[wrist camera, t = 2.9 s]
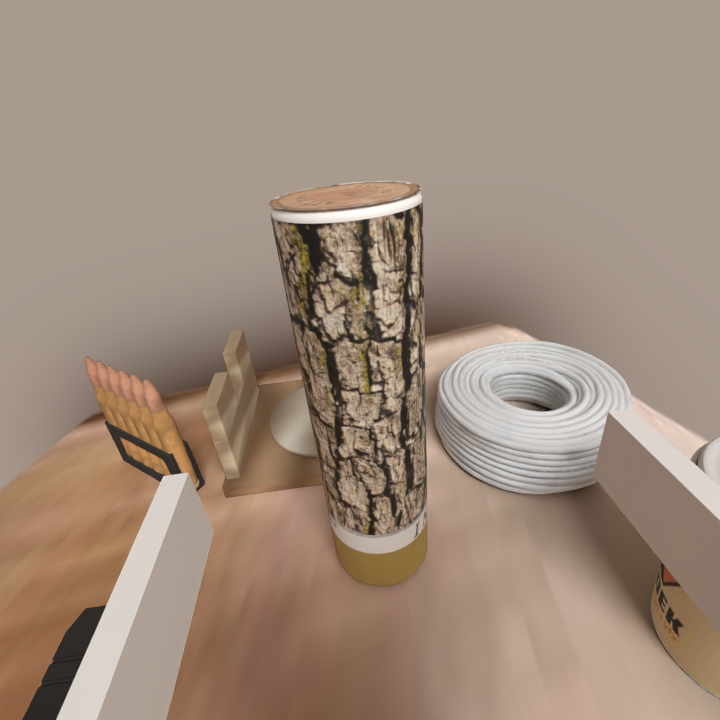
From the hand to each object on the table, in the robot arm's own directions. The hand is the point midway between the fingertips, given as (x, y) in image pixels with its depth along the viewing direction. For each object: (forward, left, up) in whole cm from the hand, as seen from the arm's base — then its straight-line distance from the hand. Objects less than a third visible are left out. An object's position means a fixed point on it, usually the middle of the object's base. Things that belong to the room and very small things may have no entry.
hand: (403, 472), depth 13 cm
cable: (+15, +21, -18) cm, 32 cm away
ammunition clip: (-21, +22, -18) cm, 35 cm away
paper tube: (-1, +10, -18) cm, 21 cm away
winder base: (-6, +25, -18) cm, 31 cm away
